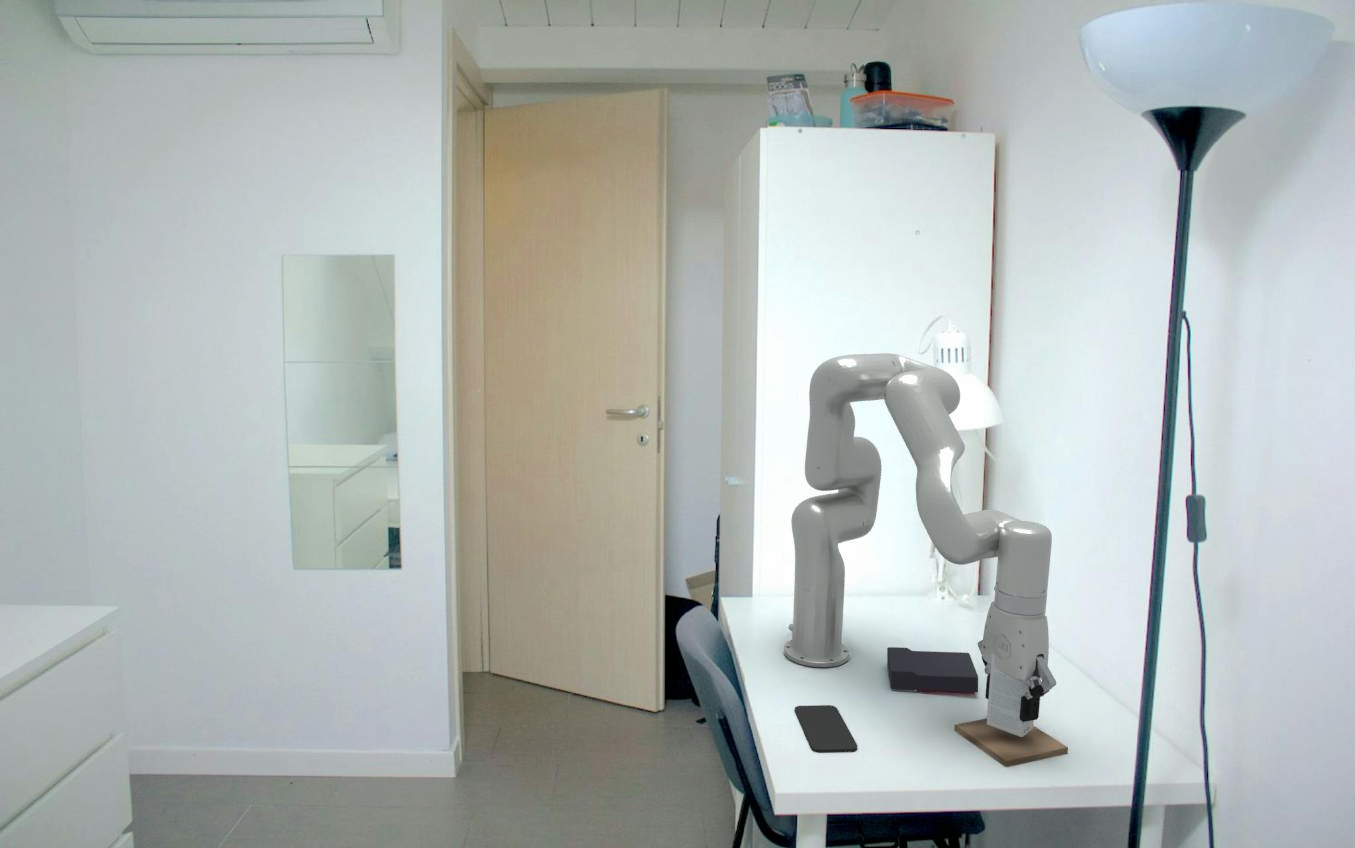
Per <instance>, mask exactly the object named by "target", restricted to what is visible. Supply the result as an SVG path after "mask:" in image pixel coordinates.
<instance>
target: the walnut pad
mask: <svg viewBox="0 0 1355 848" xmlns="http://www.w3.org/2000/svg"><path fill="white" fill-rule="evenodd" d="M953 730H954V731H955V732H956V733H958V734H959V735H960V736H962V737H963V738H965V739H966V740H967V741H969V742H970V743H971V744H972V745H974V746H976V747H977V748H978V749H980V750H981V751H983V752H984V753H986V754H987V755H988V756H990V757H991V758H993V759H994V760H995V761H996V762H997V763H1000V764H1001V765H1003V766H1004V767H1005V768H1009V767H1012V766H1017V765H1022V764H1026V763H1030V762H1031V763H1032V762H1035V761H1040V760H1044V759H1048V758H1052V757H1056V756H1062V755H1066V754H1068V752H1069V746H1067V745H1065V744H1063V742H1060V741H1059V740H1057V739H1056V738H1054V737H1052V736H1050V734H1048V733H1046V732H1045V731H1043V730H1041V729H1039V728H1038V727H1037V726H1035V725H1033V729H1032V730H1031V731H1029V732H1028V733H1027V734H1026V735H1024V736H1023V737H1020V736H1017V735H1014V734H1011V733H1009V732H1006V731H1003V730H1000V729H998V728H995V727H992V726H989V725H987V717H986V718H981V719H975V720H971V721H966V722H961V723H956V724H954V729H953Z"/></svg>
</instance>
